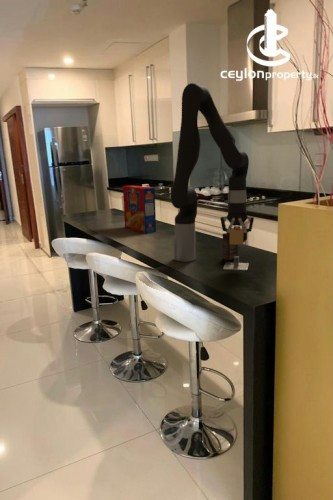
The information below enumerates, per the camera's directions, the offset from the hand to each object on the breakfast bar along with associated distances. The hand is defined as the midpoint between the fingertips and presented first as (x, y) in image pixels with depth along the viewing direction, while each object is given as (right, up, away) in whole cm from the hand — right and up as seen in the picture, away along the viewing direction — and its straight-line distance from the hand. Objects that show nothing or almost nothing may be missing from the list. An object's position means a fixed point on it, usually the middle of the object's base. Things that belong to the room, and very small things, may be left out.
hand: (237, 241), depth 163 cm
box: (0, -8, +16) cm, 18 cm away
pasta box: (-47, +9, +90) cm, 102 cm away
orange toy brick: (0, -1, 0) cm, 1 cm away
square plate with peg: (0, -11, +3) cm, 11 cm away
